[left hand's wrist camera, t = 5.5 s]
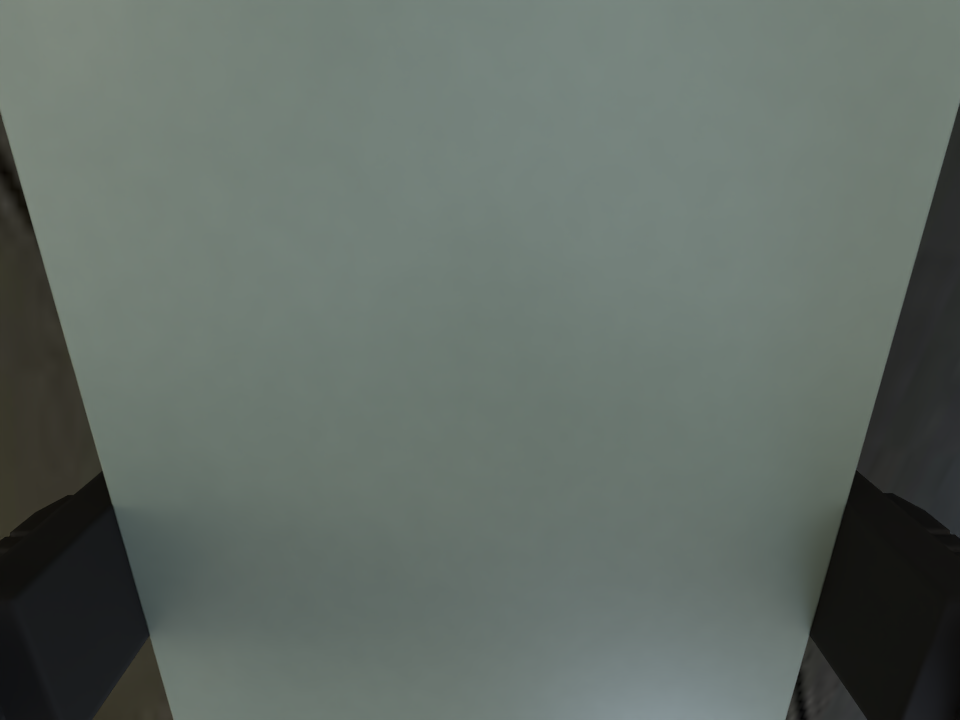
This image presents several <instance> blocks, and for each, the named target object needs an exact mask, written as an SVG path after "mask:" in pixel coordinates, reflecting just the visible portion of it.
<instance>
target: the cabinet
mask: <svg viewBox="0 0 960 720" xmlns="http://www.w3.org/2000/svg"><path fill="white" fill-rule="evenodd" d="M959 103H960V0H0V112H1V116H2V119H3V123H4V126H5V130H6V133H7V137H8V140H9V144H10V147H11V151H12V154H13V158H14V161H15V165H16V168H17V172H18V175H19V179H20V182H21V186H22V190H23V193H24V197H25V200H26V204H27V207H28V211H29V214H30V218H31V221H32V225H33V228H34V232H35V235H36V239H37V242H38V246H39V249H40V253H41V256H42V260H43V263H44V267H45V270H46V274H47V277H48V281H49V284H50V288H51V291H52V295H53V298H54V302H55V305H56V309H57V312H58V316H59V319H60V323H61V326H62V330H63V333H64V337H65V340H66V344H67V347H68V351H69V354H70V358H71V362H72V365H73V369H74V372H75V376H76V379H77V383H78V386H79V390H80V393H81V397H82V400H83V404H84V407H85V411H86V414H87V418H88V421H89V425H90V428H91V432H92V435H93V439H94V442H95V446H96V449H97V453H98V456H99V460H100V463H101V467H102V470H103V474H104V477H105V481H106V484H107V488H108V491H109V495H110V498H111V502H112V505H113V509H114V512H115V516H116V519H117V523H118V526H119V530H120V533H121V537H122V541H123V544H124V548H125V551H126V555H127V558H128V562H129V565H130V569H131V572H132V576H133V579H134V583H135V586H136V590H137V593H138V597H139V600H140V604H141V607H142V611H143V614H144V618H145V621H146V625H147V628H148V632H149V635H150V639H151V642H152V646H153V649H154V653H155V656H156V660H157V663H158V667H159V670H160V674H161V677H162V681H163V684H164V688H165V691H166V695H167V698H168V702H169V705H170V709H171V713H172V716H173V720H785V719H786V715H787V712H788V708H789V705H790V701H791V698H792V694H793V691H794V687H795V684H796V680H797V676H798V673H799V669H800V666H801V662H802V659H803V655H804V652H805V648H806V645H807V641H808V638H809V634H810V630H811V627H812V623H813V620H814V616H815V613H816V609H817V606H818V602H819V599H820V595H821V592H822V588H823V584H824V581H825V577H826V574H827V570H828V567H829V563H830V560H831V556H832V553H833V549H834V546H835V542H836V539H837V535H838V531H839V528H840V524H841V521H842V517H843V514H844V510H845V507H846V503H847V500H848V496H849V493H850V489H851V485H852V482H853V478H854V475H855V471H856V468H857V464H858V461H859V457H860V454H861V450H862V447H863V443H864V439H865V436H866V432H867V429H868V425H869V422H870V418H871V415H872V411H873V408H874V404H875V401H876V397H877V393H878V390H879V386H880V383H881V379H882V376H883V372H884V369H885V365H886V362H887V358H888V355H889V351H890V348H891V344H892V340H893V337H894V333H895V330H896V326H897V323H898V319H899V316H900V312H901V309H902V305H903V302H904V298H905V294H906V291H907V287H908V284H909V280H910V277H911V273H912V270H913V266H914V263H915V259H916V256H917V252H918V248H919V245H920V241H921V238H922V234H923V231H924V227H925V224H926V220H927V217H928V213H929V210H930V206H931V202H932V199H933V195H934V192H935V188H936V185H937V181H938V178H939V174H940V171H941V167H942V164H943V160H944V157H945V153H946V149H947V146H948V142H949V139H950V135H951V132H952V128H953V125H954V121H955V118H956V114H957V111H958V107H959Z"/></svg>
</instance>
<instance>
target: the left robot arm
mask: <svg viewBox="0 0 960 720" xmlns="http://www.w3.org/2000/svg"><path fill="white" fill-rule="evenodd" d="M809 635H810V636H811V638H812V639H813V641H814V642H815V644H816V645H817V647H818V648H819V649H820V651H821V652H822V654H823V655H824V657H825V658H826V660H827V661H828V663H829V664H830V666H831V667H832V668H833V670H834V671H835V673H836V674H837V676H838V677H839V679H840V680H841V682H842V683H843V685H844V686H845V687H846V689H847V690H848V692H849V693H850V695H851V696H852V698H853V699H854V701H855V702H856V704H857V705H858V706H859V708H860V709H861V711H862V712H863V714H864V715H865V717H866V718H867V720H956V719H957V720H960V538H958V537H957V536H956V535H951V534H950V530H948V529H947V528H946V527H945V526H943V525H942V524H941V523H940V522H938V521H937V520H936V519H935V518H933V517H932V516H931V515H930V514H928V513H927V512H926V511H925V510H923V509H921V508H919V507H917V506H915V505H913V504H911V503H910V502H908V501H906V500H904V499H902V498H900V497H898V496H896V495H894V494H892V493H882V492H881V491H880V490H879V489H878V488H876V487H875V486H874V485H873V484H872V483H871V482H869V481H868V480H867V479H866V478H865V477H863V476H862V475H861V474H860V473H859V472H857V471H855V475H854V478H853V482H852V485H851V489H850V493H849V496H848V500H847V503H846V507H845V510H844V514H843V517H842V521H841V524H840V528H839V531H838V535H837V539H836V542H835V546H834V549H833V553H832V556H831V560H830V563H829V567H828V570H827V574H826V577H825V581H824V584H823V588H822V592H821V595H820V599H819V602H818V606H817V609H816V613H815V616H814V620H813V623H812V627H811V630H810V634H809ZM148 637H149V632H148V628H147V625H146V621H145V618H144V614H143V611H142V607H141V604H140V600H139V597H138V593H137V590H136V586H135V583H134V579H133V576H132V572H131V569H130V565H129V562H128V558H127V555H126V551H125V548H124V544H123V541H122V537H121V533H120V530H119V526H118V523H117V519H116V516H115V512H114V509H113V505H112V502H111V498H110V495H109V491H108V488H107V484H106V481H105V477H104V474H103V471H102V472H101V473H99V474H98V475H97V476H96V477H95V478H94V479H92V480H91V481H90V482H89V483H88V484H86V485H85V486H84V487H83V488H82V489H80V490H79V491H78V492H77V493H76V494H75V495H67V496H65V497H64V498H62V499H60V500H58V501H56V502H54V503H52V504H50V505H48V506H47V507H45V508H43V509H41V510H39V511H37V512H35V513H34V514H33V515H32V516H30V517H29V518H28V519H27V520H25V521H24V522H23V523H22V524H20V525H19V526H18V527H17V528H16V529H14V530H13V531H12V532H11V533H10V536H9V537H4V538H3V539H2V540H1V541H0V720H92V719H93V717H94V716H95V714H96V713H97V711H98V710H99V708H100V707H101V706H102V704H103V703H104V701H105V700H106V698H107V697H108V695H109V694H110V692H111V691H112V689H113V688H114V687H115V685H116V684H117V682H118V681H119V679H120V678H121V676H122V675H123V673H124V672H125V670H126V669H127V668H128V666H129V665H130V663H131V662H132V660H133V659H134V657H135V656H136V654H137V653H138V651H139V650H140V649H141V647H142V646H143V644H144V643H145V641H146V640H147V638H148Z"/></svg>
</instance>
